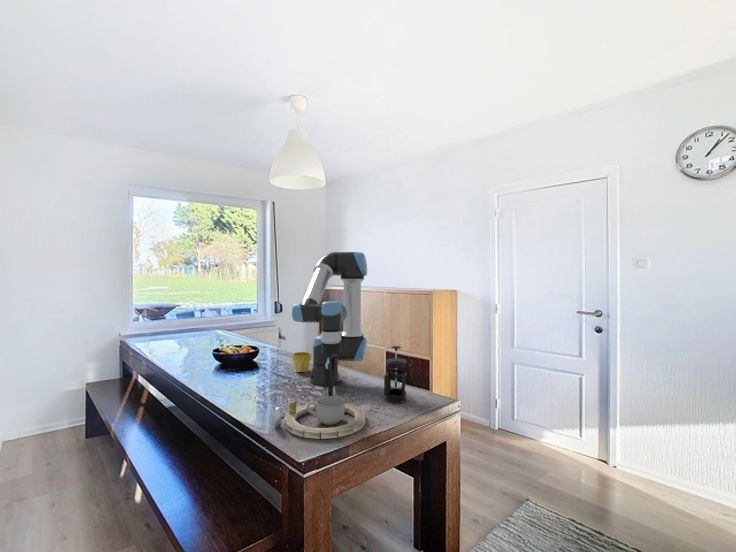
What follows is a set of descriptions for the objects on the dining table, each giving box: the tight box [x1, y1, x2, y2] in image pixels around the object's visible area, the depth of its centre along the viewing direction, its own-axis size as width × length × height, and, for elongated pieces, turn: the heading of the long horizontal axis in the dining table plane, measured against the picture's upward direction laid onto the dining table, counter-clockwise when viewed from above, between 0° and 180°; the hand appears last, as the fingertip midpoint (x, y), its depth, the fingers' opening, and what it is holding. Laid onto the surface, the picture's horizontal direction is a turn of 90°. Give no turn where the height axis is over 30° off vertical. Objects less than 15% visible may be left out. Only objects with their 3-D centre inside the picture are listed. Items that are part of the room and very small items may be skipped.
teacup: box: [306, 395, 346, 426], centre depth 138 cm, size 14×11×8 cm
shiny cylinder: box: [273, 406, 285, 430], centre depth 132 cm, size 2×3×7 cm
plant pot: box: [291, 351, 312, 373], centre depth 207 cm, size 10×10×10 cm
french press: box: [383, 345, 408, 403], centre depth 161 cm, size 12×9×23 cm
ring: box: [284, 400, 367, 440], centre depth 137 cm, size 29×29×6 cm
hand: (331, 403), depth 144 cm, fingers closed
